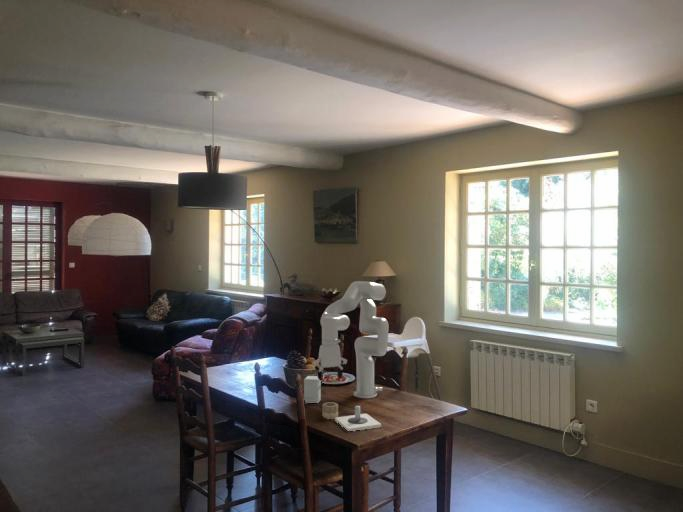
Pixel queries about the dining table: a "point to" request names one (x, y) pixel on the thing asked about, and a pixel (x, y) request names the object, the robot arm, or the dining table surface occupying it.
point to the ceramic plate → (336, 378)
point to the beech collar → (330, 410)
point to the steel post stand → (358, 421)
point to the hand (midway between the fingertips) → (329, 378)
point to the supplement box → (312, 389)
